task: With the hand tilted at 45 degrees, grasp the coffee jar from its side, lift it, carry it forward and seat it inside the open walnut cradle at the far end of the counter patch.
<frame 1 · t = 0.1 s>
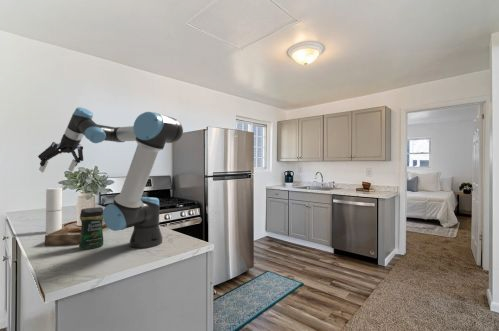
hand: (56, 170, 125), 36 cm above the counter, tool tilted 35°, fingers open, 13 cm apart
cradle: (72, 240, 124), on the counter
coffee jar: (91, 247, 115), on the counter
cylindrical container: (53, 232, 139), on the counter
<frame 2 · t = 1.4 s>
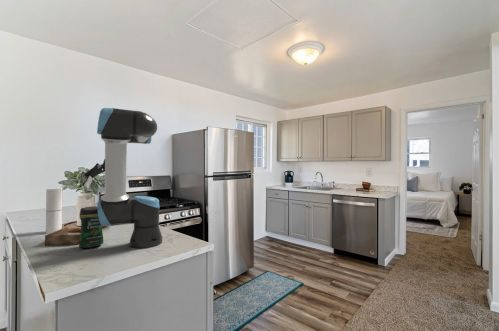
hand: (100, 187, 127), 27 cm above the counter, tool tilted 45°, fingers open, 13 cm apart
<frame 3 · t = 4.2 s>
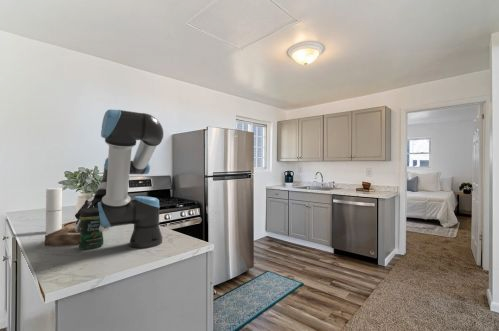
hand: (88, 230, 111), 8 cm above the counter, tool tilted 45°, fingers closed on coffee jar, 9 cm apart
coffee jar: (91, 247, 115), on the counter, touching gripper
everything else where it was.
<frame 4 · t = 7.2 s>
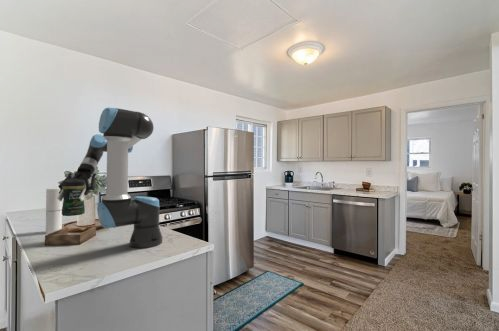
hand: (70, 199, 121), 21 cm above the counter, tool tilted 45°, fingers closed on coffee jar, 9 cm apart
coffee jar: (73, 215, 125), point 13 cm above the counter, touching gripper
everything else where it was.
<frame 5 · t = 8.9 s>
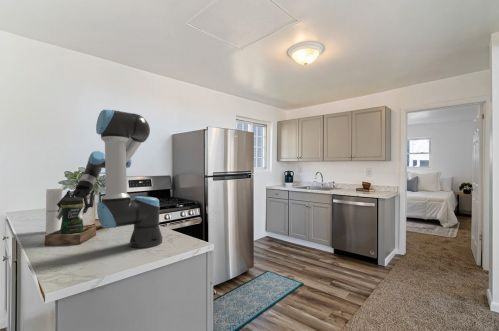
hand: (68, 218, 122), 12 cm above the counter, tool tilted 45°, fingers closed on coffee jar, 9 cm apart
coffee jar: (72, 233, 125), point 3 cm above the counter, touching gripper
everything else where it was.
when the fingers open (10 cm above the counter, at t = 9.9 s): coffee jar moves 2 cm, resting on cradle.
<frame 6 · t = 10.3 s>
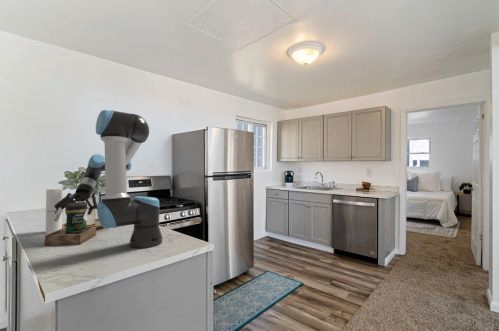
hand: (69, 219, 122), 11 cm above the counter, tool tilted 45°, fingers open, 13 cm apart
coffee jar: (76, 238, 125), point 1 cm above the counter, touching cradle, gripper
everything else where it was.
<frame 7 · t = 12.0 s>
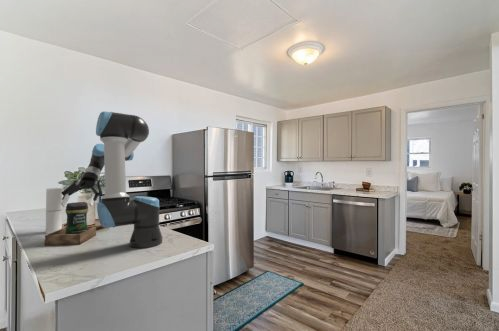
hand: (76, 205, 128), 17 cm above the counter, tool tilted 45°, fingers open, 13 cm apart
coffee jar: (76, 238, 125), point 1 cm above the counter, touching cradle
everything else where it was.
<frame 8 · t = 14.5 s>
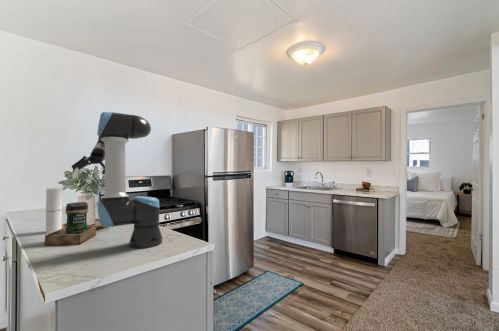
hand: (86, 177, 133), 32 cm above the counter, tool tilted 45°, fingers open, 13 cm apart
nothing on the counter moved.
at the end: coffee jar inside the target area on the cradle (1.8 cm from its centre), point 0.6 cm above the cradle's base; coffee jar tilted 0°; the gripper is holding nothing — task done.
